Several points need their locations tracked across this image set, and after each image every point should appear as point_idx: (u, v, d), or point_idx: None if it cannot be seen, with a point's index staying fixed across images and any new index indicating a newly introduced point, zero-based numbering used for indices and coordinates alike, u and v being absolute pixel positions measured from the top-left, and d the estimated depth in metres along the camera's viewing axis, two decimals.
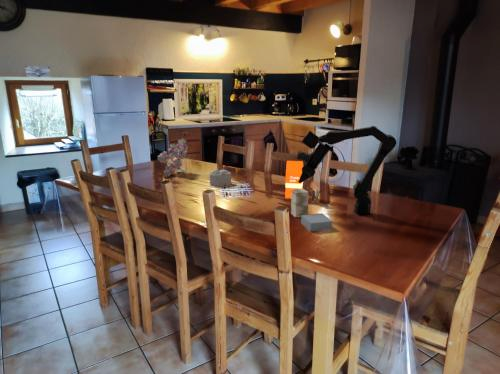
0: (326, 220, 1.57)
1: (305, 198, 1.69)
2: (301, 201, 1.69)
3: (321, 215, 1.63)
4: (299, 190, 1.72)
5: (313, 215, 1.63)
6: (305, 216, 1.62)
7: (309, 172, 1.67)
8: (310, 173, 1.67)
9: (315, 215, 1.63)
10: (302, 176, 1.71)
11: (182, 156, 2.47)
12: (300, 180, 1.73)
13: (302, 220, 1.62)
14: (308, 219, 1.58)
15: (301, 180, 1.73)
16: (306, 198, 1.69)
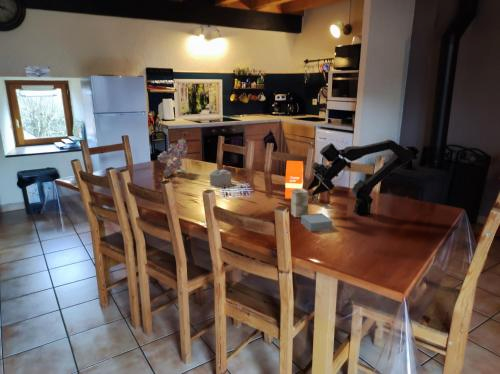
0: (326, 220, 1.57)
1: (305, 198, 1.69)
2: (301, 201, 1.69)
3: (321, 215, 1.63)
4: (299, 190, 1.72)
5: (313, 215, 1.63)
6: (305, 216, 1.62)
7: (329, 186, 1.61)
8: (330, 187, 1.61)
9: (315, 215, 1.63)
10: (318, 189, 1.65)
11: (182, 156, 2.47)
12: (314, 192, 1.66)
13: (302, 220, 1.62)
14: (308, 219, 1.58)
15: (315, 192, 1.66)
16: (306, 198, 1.69)
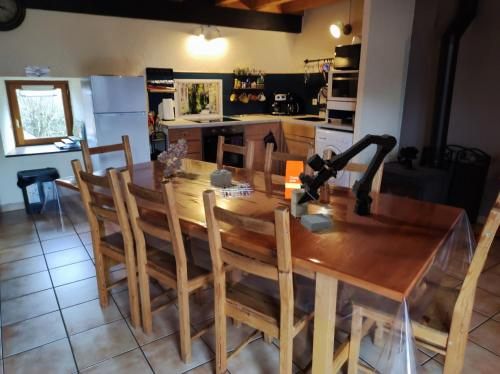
0: (326, 220, 1.57)
1: None
2: None
3: (321, 215, 1.63)
4: (299, 190, 1.72)
5: (312, 215, 1.63)
6: (305, 216, 1.62)
7: (314, 196, 1.62)
8: (315, 197, 1.62)
9: (315, 215, 1.63)
10: (303, 198, 1.67)
11: (182, 156, 2.47)
12: (300, 202, 1.68)
13: (302, 220, 1.62)
14: (309, 219, 1.58)
15: (301, 202, 1.68)
16: None
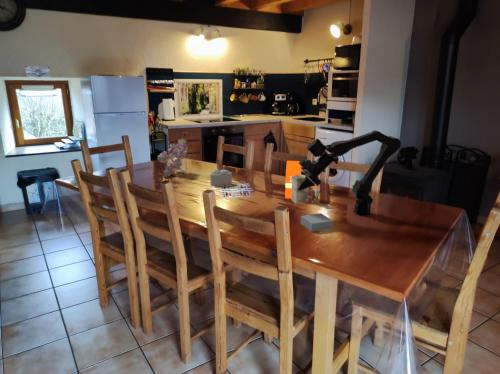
0: (326, 219, 1.58)
1: None
2: None
3: (320, 215, 1.63)
4: (299, 176, 1.70)
5: (312, 215, 1.63)
6: (305, 216, 1.61)
7: (315, 181, 1.60)
8: (316, 183, 1.60)
9: (314, 215, 1.63)
10: (304, 184, 1.65)
11: (182, 156, 2.47)
12: (301, 187, 1.66)
13: (302, 220, 1.62)
14: (309, 219, 1.58)
15: (302, 188, 1.66)
16: None
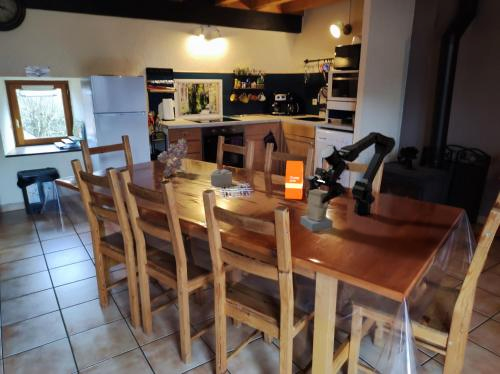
0: (326, 220, 1.58)
1: None
2: None
3: None
4: (317, 190, 1.57)
5: None
6: (305, 217, 1.61)
7: (342, 191, 1.51)
8: (342, 192, 1.51)
9: None
10: (329, 196, 1.52)
11: (182, 156, 2.47)
12: (325, 200, 1.53)
13: (302, 221, 1.62)
14: (309, 220, 1.58)
15: (326, 200, 1.53)
16: None
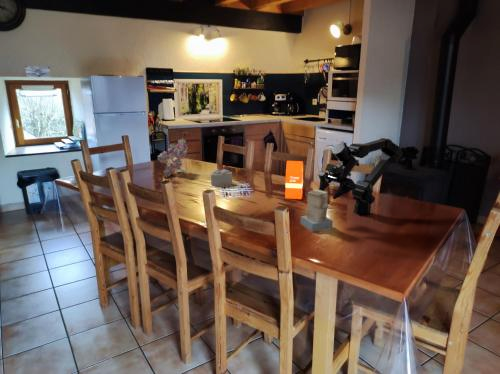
0: (326, 220, 1.58)
1: (325, 199, 1.56)
2: (322, 204, 1.55)
3: None
4: (315, 191, 1.57)
5: None
6: (305, 217, 1.61)
7: (353, 187, 1.54)
8: (353, 188, 1.54)
9: None
10: (340, 191, 1.55)
11: (182, 156, 2.47)
12: (336, 196, 1.56)
13: (302, 221, 1.62)
14: (309, 220, 1.58)
15: (337, 196, 1.56)
16: (326, 199, 1.56)
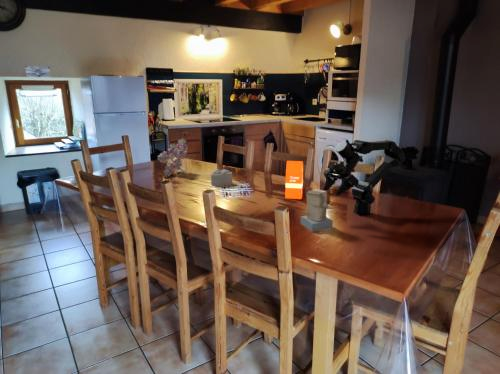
0: (326, 220, 1.58)
1: (324, 198, 1.56)
2: (322, 203, 1.56)
3: None
4: (314, 191, 1.57)
5: None
6: (305, 217, 1.61)
7: (355, 182, 1.55)
8: (355, 183, 1.55)
9: None
10: (342, 187, 1.57)
11: (182, 156, 2.47)
12: (339, 192, 1.57)
13: (302, 221, 1.62)
14: (309, 220, 1.58)
15: (340, 192, 1.57)
16: (325, 198, 1.57)
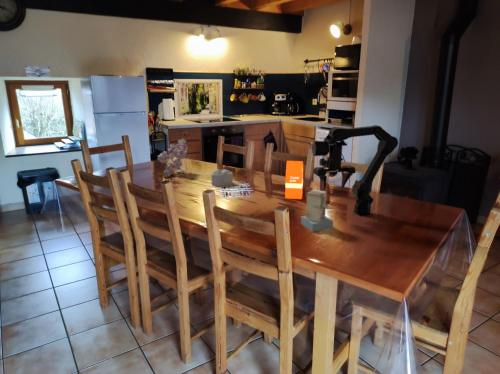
0: (327, 220, 1.58)
1: (324, 199, 1.57)
2: (322, 203, 1.56)
3: None
4: (314, 191, 1.57)
5: None
6: (305, 217, 1.61)
7: (316, 173, 1.65)
8: (316, 173, 1.65)
9: None
10: (321, 181, 1.68)
11: (182, 156, 2.47)
12: (323, 186, 1.69)
13: (302, 221, 1.62)
14: (309, 220, 1.58)
15: (323, 185, 1.68)
16: (325, 198, 1.57)
